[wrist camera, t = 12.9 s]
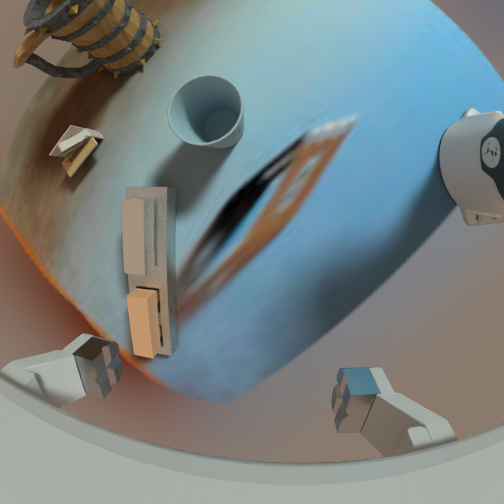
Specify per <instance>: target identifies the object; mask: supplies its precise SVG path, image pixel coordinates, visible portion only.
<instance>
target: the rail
mask: <svg viewBox="0 0 504 504" xmlns="http://www.w3.org/2000/svg"><path fill="white" fill-rule="evenodd" d="M176 189H177V187H126V200H122V234H123V259H124V273H127V274H128V283H129V294H130V293H131V292H132V291H134V290H135V289H136V288H140V289H147V287H149V288H157V289H159V294H160V302H159V303H158V304H157V310H158V323H159V325H161V326H162V336H161V337H160V344H161V348H160V350H159V351H158V354H163V355H169V356H172V355H173V353H174V352H175V350H176V348H177V347H178V345H179V339H178V322H177V300H176V258H175V231H176Z"/></svg>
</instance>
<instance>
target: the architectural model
mask: <svg viewBox="0 0 504 504" xmlns="http://www.w3.org/2000/svg"><path fill="white" fill-rule="evenodd" d="M94 137H95V138H99V139H104V137H103V136H102V135H101V133H100V132H99V131H95V130H91V129H87V128H86V129H85V128H81V127H76V126H72V125H70V127H69V128H68V129H67V131H66V132H65V133H64V135H63V136H62V137H61V139H60V140H59V141H58V143H57V144H56V146H55V147H54V148H53V150H52V151H51V153H50V154H49V155H50V156H57V157H59V156H61V157H65V159H64V160H63V162H62V165H63V167H64V168H65V170H66V172H67V173H68V175H69V176H70V177H72V176H73V174H74V173H75V172H76V170H77V169H78V168H79V167H80V165H81V164H82V163H83V161H84V160H85V159H86V158H87V156H88V155H89V154H90V153H91V152H92V150H93V149H94V148H96V147H97V142H96V141H95V139H94ZM57 157H56V158H57Z"/></svg>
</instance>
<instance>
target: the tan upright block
mask: <svg viewBox="0 0 504 504" xmlns="http://www.w3.org/2000/svg"><path fill="white" fill-rule="evenodd" d="M159 302H160V294H159V289H157V288H148V289H140V288H136V289H135V290H134V291H132V292H131V293H130V294H128V295H127V304H128V313H129V321H130V329H131V336H132V343H133V350H134V355H138V356H143V357H148V358H154V357H155V356H156V354H157V353H158V351H159V350H160V348H161V344H160V337H161V336H162V326H161V325H159V323H158V310H157V304H158V303H159Z"/></svg>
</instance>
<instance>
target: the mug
mask: <svg viewBox="0 0 504 504" xmlns="http://www.w3.org/2000/svg"><path fill="white" fill-rule="evenodd" d="M132 7H133V4H130V3H129V1H128V0H31V1H30V3H29V4H28V6H27V9H26V12H25V14H24V26H26V27H27V29H26V32H25V35H26V34H27V33H29V32H30V31H32V30H35V32H34V33H32V34H31V35H30V36H29V37H28V38H27V39H26V40H25V41H24V42H23V43H22V45H21V46H20V47H19V48H18V49H17V51H16V53H15V57H14V66H13V67H15V68H18V67H20V66H23V65H24V63H28V64H31V65H33V66H35V67H37V68H38V69H40V70H41V71H43V72H45V73H47V74H49V75H51V76H54V77H62V78H81V77H85V76H88V75H89V74H91V73H92V72H94V71H95V70H97V69H98V68H100V69H99V71H100V70H103V69H106V70H108V71H109V72H111V73H112V74H114V79H115V78H116V77H117V76H118V74H121V75H123V74H126V73H129V72H133V71H135V70H136V69H138V68H139V67H141V66H145V63H146V62H147V61H148V60H149V59H150V58H151V57H152V56H153V55H154V53H155V51H156V49H157V47H158V45H159V43H160V42H162V41H163V40H161V39H160V33H159V31H158V29H157V27H156V24H157V23H158V22H159V20H157V21H154V22H152V21H151V20H149V19H147V18H145V16H144V12H143V11H140V12H138V11H136V10H134V9H133V8H132ZM50 35H51V37H52V39H58V40H63V41H67V42H71V43H72V44H73V45H74V46H75V47H77V48H78V49H77V51H78V52H79V53H81V52H82V51H87V52H88V53H89V56H88V58H89V59H93V60H92V61H91V62H89V63H88V64H86V65H85V66H83V67H80V68H64V67H58V66H54V65H52V64H50V63H48V62H46V61H45V60H44V59H42V58H41V57H39V56H38V55H36V54H34V53H33V51H34V50H35V49H36V48H37V47H38V46H39V45H40V44H41V43H42V42H43V41H44V40H45V39H46V38H48V37H49V36H50Z"/></svg>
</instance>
